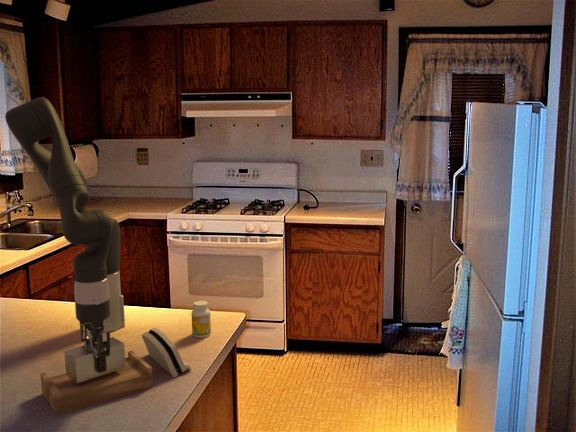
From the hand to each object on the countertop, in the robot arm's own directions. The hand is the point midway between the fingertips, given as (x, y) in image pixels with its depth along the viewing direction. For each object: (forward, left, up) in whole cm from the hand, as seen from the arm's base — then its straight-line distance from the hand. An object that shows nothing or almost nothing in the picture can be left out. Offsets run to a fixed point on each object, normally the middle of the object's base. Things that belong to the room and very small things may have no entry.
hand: (96, 366), depth 142 cm
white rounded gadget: (-19, -4, -6) cm, 20 cm away
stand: (0, 0, -6) cm, 6 cm away
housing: (0, 0, -1) cm, 1 cm away
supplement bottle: (-36, -16, -6) cm, 40 cm away
